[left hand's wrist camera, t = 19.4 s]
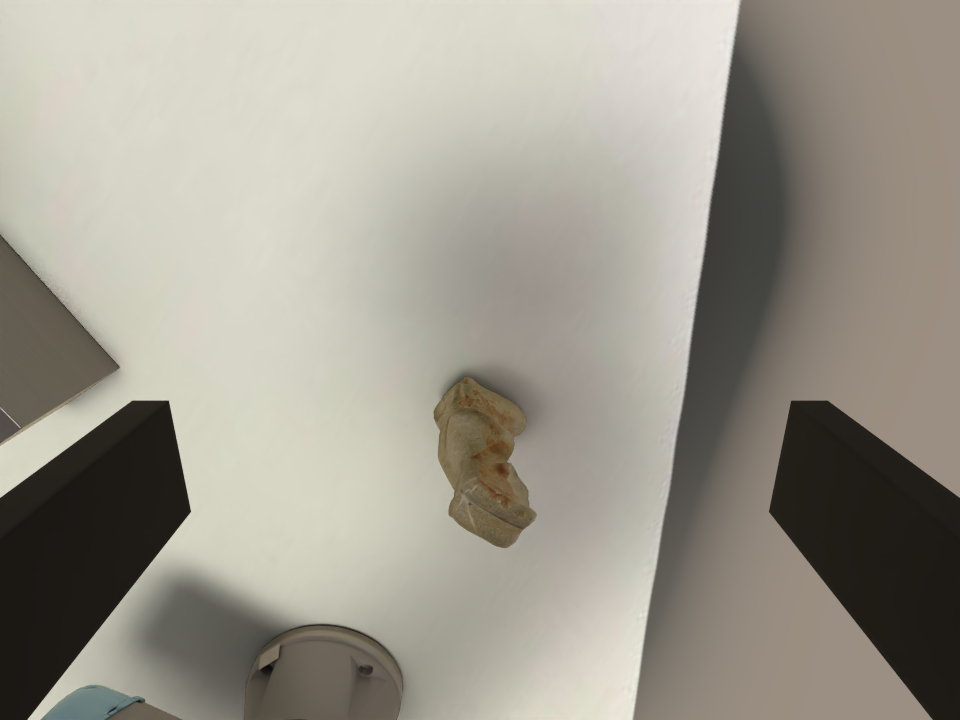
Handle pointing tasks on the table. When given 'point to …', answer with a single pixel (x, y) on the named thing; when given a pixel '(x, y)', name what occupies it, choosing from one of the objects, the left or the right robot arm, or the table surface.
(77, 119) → the table surface
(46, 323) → the box
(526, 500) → the sculpture
